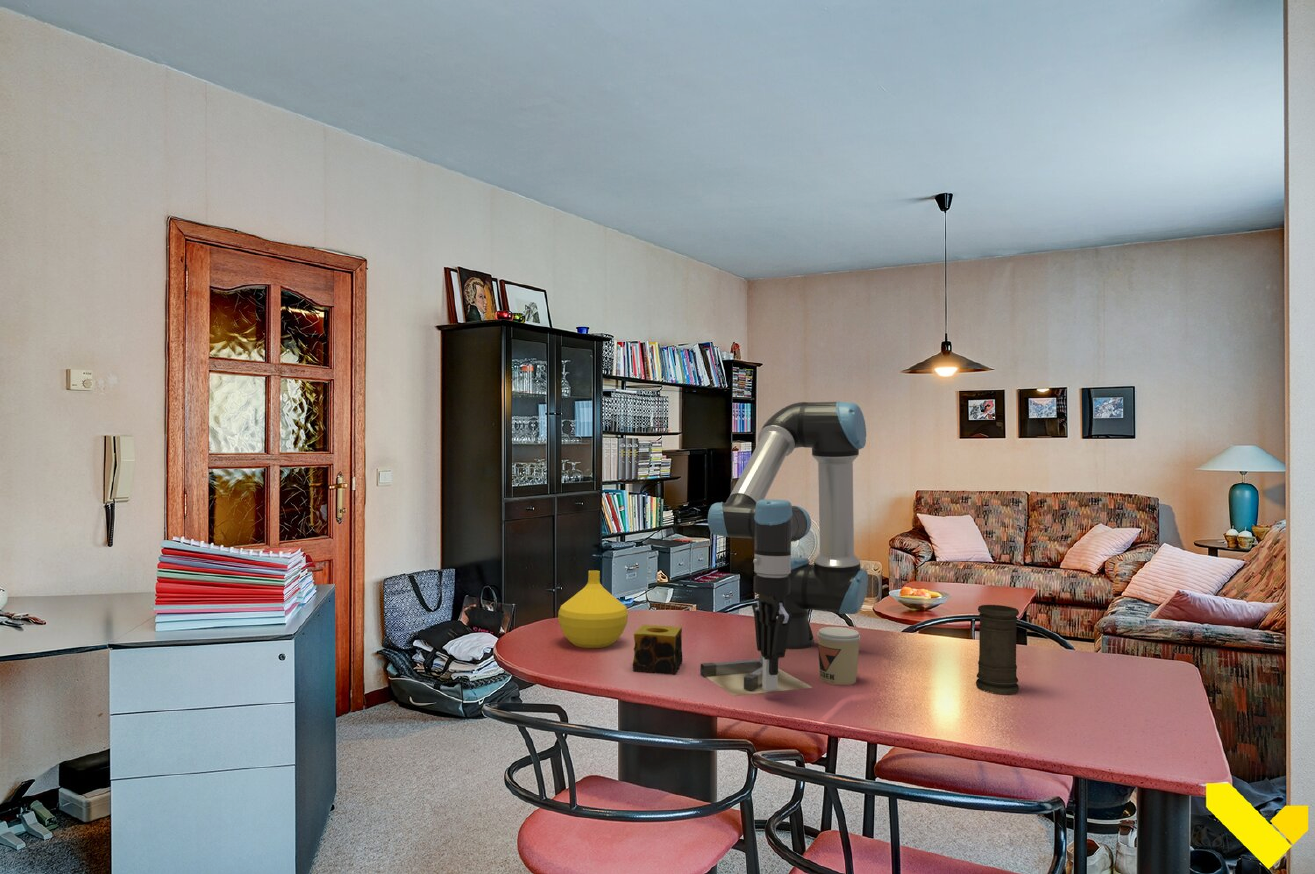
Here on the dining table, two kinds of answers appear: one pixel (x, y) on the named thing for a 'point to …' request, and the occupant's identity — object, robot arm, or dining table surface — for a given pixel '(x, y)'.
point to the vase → (593, 616)
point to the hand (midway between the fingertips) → (769, 689)
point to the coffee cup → (838, 655)
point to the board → (736, 686)
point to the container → (997, 649)
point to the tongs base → (731, 667)
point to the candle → (658, 649)
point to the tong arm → (753, 679)
